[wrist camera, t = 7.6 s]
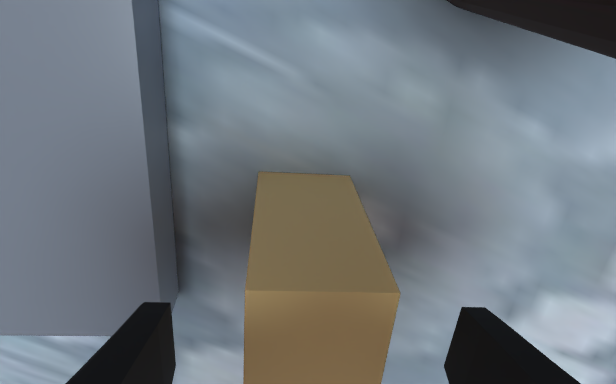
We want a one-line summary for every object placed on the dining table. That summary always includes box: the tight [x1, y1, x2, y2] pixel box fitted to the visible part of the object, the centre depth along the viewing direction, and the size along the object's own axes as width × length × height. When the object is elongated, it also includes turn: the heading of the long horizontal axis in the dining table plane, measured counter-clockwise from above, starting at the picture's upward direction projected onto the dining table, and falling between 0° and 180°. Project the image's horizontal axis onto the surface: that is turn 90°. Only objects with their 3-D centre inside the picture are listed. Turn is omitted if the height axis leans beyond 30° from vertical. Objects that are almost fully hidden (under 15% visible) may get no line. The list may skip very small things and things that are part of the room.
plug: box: [244, 171, 400, 384], centre depth 13 cm, size 4×4×7 cm
